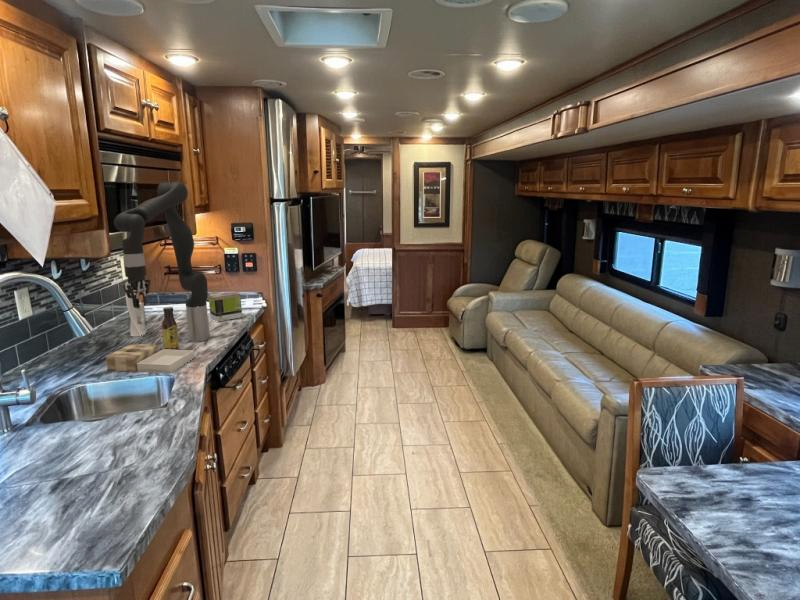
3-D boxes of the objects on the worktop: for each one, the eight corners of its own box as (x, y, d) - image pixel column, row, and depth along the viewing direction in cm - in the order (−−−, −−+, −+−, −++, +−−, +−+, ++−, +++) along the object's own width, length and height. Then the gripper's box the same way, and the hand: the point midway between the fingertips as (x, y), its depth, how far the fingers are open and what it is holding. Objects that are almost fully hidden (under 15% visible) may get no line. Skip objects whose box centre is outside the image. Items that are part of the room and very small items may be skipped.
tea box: (236, 315, 279) (234, 290, 276) (242, 318, 272) (241, 293, 269) (210, 319, 270) (208, 293, 267) (216, 322, 263) (214, 296, 259)
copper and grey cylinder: (140, 322, 197) (137, 293, 194) (147, 322, 196) (144, 294, 194) (135, 324, 193) (132, 295, 191) (142, 324, 193) (139, 295, 190)
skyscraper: (141, 337, 235) (134, 281, 229) (126, 337, 235) (119, 281, 229) (150, 332, 243) (143, 279, 237) (135, 332, 243) (129, 278, 237)
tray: (164, 356, 208) (163, 349, 207) (194, 358, 206) (193, 350, 205) (137, 371, 190) (136, 363, 189) (170, 373, 189) (169, 365, 188)
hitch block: (133, 357, 207) (131, 343, 206) (159, 358, 206) (157, 345, 204) (107, 370, 192) (105, 356, 190) (135, 371, 190) (133, 357, 189)
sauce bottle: (173, 352, 213) (168, 309, 208) (160, 351, 214) (156, 309, 210) (182, 348, 219) (178, 306, 215) (170, 347, 220) (166, 305, 216)
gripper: (137, 261, 197) (142, 302, 201) (113, 267, 183) (119, 310, 187) (154, 262, 196) (159, 302, 200) (131, 267, 182) (136, 311, 186)
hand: (139, 306), depth 193 cm, fingers closed on copper and grey cylinder, 3 cm apart
